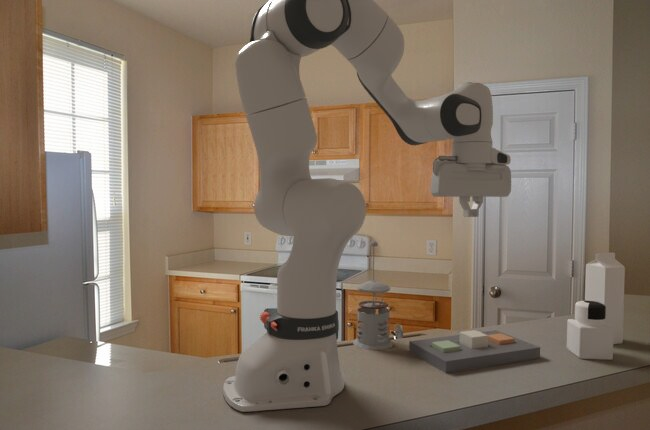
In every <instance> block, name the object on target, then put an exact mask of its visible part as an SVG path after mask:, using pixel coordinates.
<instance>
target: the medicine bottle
mask: <svg viewBox="0 0 650 430" xmlns="http://www.w3.org/2000/svg"><path fill="white" fill-rule="evenodd" d="M605 316H606V307H605V305H603V304H602V303H599V302H595V301H585V300H579V301H577V302H576V303H575V305H574V318H568V319H567V324H566V325H567V326H566V327H567V328H566V349H567V350H569V351H570V353H572V354H573V355H574V356H576V357H577V358H578V359H581V360H583V359H584V360H603V361H604V360H605V361H607V360H608V361H612V360H613V358H614V344H613V335H614V329H613V328H612V327H610V326H608V325H606V324H605V323H604V322H605Z"/></svg>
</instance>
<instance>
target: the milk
mask: <svg viewBox="0 0 650 430" xmlns="http://www.w3.org/2000/svg"><path fill="white" fill-rule="evenodd" d="M625 273H626V267H625V266H624V265H623V264H622V263H621V262H620V261H619V260H617V259H616V252H597V253H596V254H595V259H594V260H592V261H590V262H587V263H586V264H585V281H584V282H585V283H584V284H585V286H584V301H595V302H599V303H602V304H603V305H605V307H606V316H605V322H604V323H605V324H606V325H608V326H610V327H612V328H613V329H614V335H613V345H618V344H623V341H624V340H623V338H624V337H623V336H624V333H623V332H624V311H625V310H624V309H625V308H624V305H625V303H624V302H625V279H626V278H625V277H626V276H625V275H626V274H625Z"/></svg>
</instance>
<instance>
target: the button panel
mask: <svg viewBox="0 0 650 430" xmlns="http://www.w3.org/2000/svg"><path fill="white" fill-rule="evenodd" d="M480 332H481V333H483V334H486V335H492V334H499V333H501V334H504V335H507V336H509V337H512V338H514V343H511V344H504V345H497V344H495V343H493V342H490V341H488V347H483V348H476V349H470V348H468V347H466V346H464V345H462V344H460V343H459V337H460V334H456V335H455V334H454V335H448V336H440V337H433V338H426V339H425V338H424V339H417V340H416V339H415V340H410V341H409V343H408V347H409V348H408V352H410V353H411V354H413V355H415V356H417V358H420V359H422V360H423V361H424V360H425V362H426V361H427V362H426V363H428V364H430V365H431V366H433V367H435V368H436V367H437V368H436V369H438V370H439V371H441V370H442V372H443V373H445V374H447V373H452V372H453V373H454V372H461V371H467V370H472V369H479V368H484V367H485V368H486V367H491V366H492V367H493V366H497V365H504V364H510V363H516V362H523V361H530V360H535V359H540V358H541V347H540V346H538V345H535V344H533V343H529V342H527V341H525V340H522V339H520V338H517V337H514V336H512V335H510V334H507V333H504V332H502V331H499V330H488V331H480ZM446 340H449V341H451V342H453V343H455V344H457V345H459V346H460V351H454V352H447V353H442V352H440V351H438V350H436V349H434V348H432V342H439V341H446Z"/></svg>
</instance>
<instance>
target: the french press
mask: <svg viewBox="0 0 650 430" xmlns="http://www.w3.org/2000/svg"><path fill="white" fill-rule="evenodd" d="M378 245H379V244H378V242H377V241H376V240H373V241H371V242H369V246H370V247H372V249H373V250H372V255H373V257H372V262H373V263H372V280H368V281H365V282H362V283H360V284H359V285H357V287H356V289H357V290H359V291H360V292H364V293H370V294H371V293H372V300H363V301H362V300H361V301H360V302H359V303H358V306H359V308H357V315H356V316H357V318H356V320H357V323H356V324H357V325H356V327H357V329H356V331H357V333H356V338H355V339H354V340H353V342H352V344H353V345H354V346H355V347H356V348H360V349H362V350H363V349H364V350H368V351H370V350H371V351H380V350H387V349H391V348H392V347H393V346H394V342H393V341H392V340H391V339H390V309H388V307H389V304H388V303H387V302H385V301H383V300H384V296H383V293H387V292H390V291H391V287H390V286H389V285H388V284H386V283H384V282H381V281H379V280H375V247H378ZM378 293H379V294H378ZM380 296H381V300H379V301H378V300H377V297H380ZM360 328H361V329H360Z"/></svg>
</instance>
